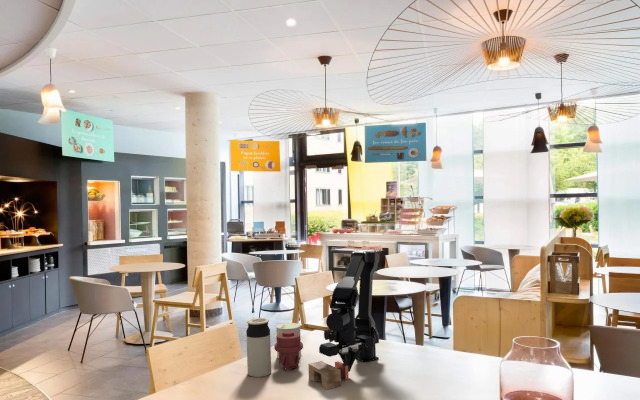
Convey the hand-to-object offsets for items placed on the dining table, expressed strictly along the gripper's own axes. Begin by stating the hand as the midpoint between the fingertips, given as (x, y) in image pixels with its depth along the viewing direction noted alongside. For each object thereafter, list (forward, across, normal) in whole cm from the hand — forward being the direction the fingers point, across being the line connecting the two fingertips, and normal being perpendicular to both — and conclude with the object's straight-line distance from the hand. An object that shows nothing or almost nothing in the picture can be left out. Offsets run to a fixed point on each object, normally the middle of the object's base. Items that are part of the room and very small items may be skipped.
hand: (348, 371), depth 162 cm
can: (+2, +5, -31) cm, 31 cm away
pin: (+2, +6, 0) cm, 7 cm away
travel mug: (+2, +22, -21) cm, 30 cm away
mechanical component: (+2, +11, -20) cm, 23 cm away
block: (+2, +9, 0) cm, 9 cm away
